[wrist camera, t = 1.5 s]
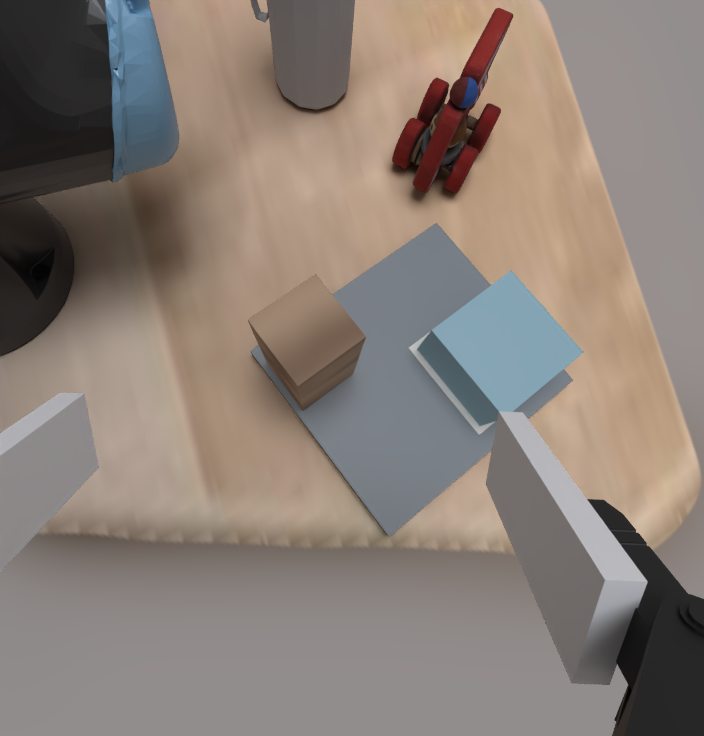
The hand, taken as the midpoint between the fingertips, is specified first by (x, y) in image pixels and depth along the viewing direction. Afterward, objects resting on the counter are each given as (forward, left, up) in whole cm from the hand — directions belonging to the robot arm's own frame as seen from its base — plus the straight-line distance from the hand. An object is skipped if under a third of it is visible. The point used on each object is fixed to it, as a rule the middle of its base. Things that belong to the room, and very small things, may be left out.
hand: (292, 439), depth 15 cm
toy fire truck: (-16, +28, -22) cm, 39 cm away
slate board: (-1, +12, -22) cm, 25 cm away
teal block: (+2, +17, -21) cm, 27 cm away
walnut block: (-6, +5, -21) cm, 22 cm away
